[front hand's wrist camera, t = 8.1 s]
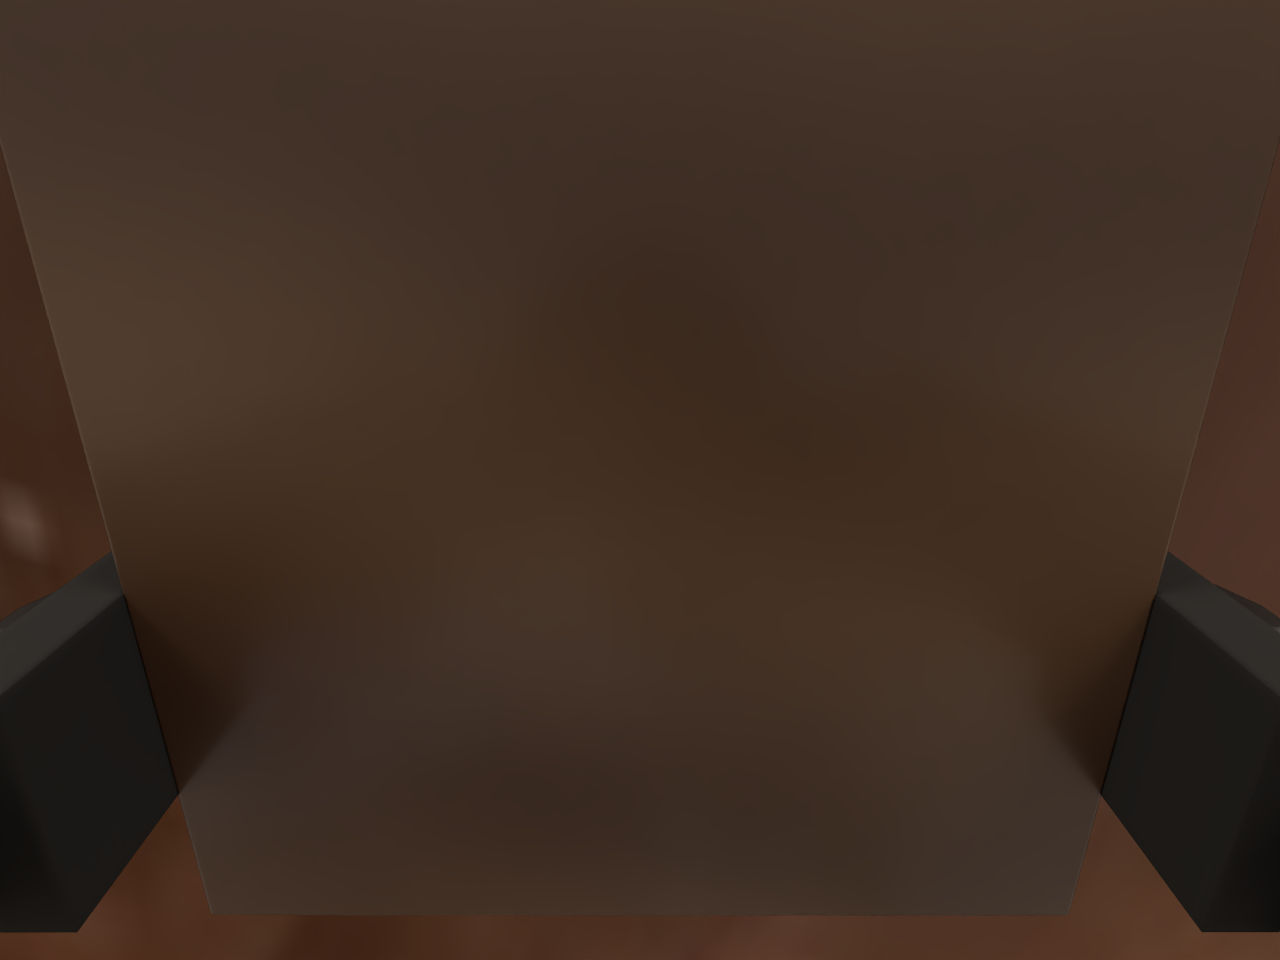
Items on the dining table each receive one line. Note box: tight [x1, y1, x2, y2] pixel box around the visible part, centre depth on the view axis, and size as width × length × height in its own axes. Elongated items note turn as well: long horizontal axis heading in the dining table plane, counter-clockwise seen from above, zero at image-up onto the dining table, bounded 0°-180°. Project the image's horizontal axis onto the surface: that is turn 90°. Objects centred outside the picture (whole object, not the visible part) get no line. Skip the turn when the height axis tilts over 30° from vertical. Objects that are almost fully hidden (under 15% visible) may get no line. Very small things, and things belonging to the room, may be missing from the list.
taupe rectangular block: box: [0, 0, 1280, 915], centre depth 11 cm, size 18×11×10 cm, turn 0°
